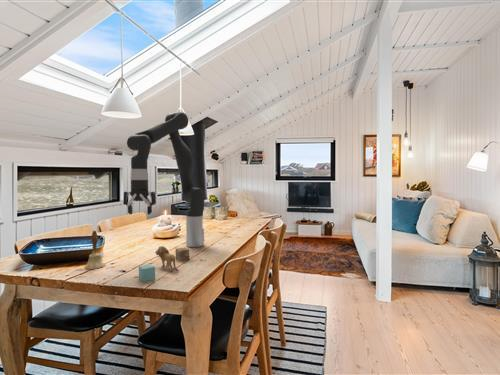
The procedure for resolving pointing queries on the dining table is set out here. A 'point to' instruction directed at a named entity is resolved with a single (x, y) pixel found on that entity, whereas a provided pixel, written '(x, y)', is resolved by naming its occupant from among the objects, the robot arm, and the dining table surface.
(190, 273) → the dining table surface
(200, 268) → the dining table surface
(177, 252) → the walnut block
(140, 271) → the teal block
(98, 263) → the hand bell
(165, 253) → the lion figurine
